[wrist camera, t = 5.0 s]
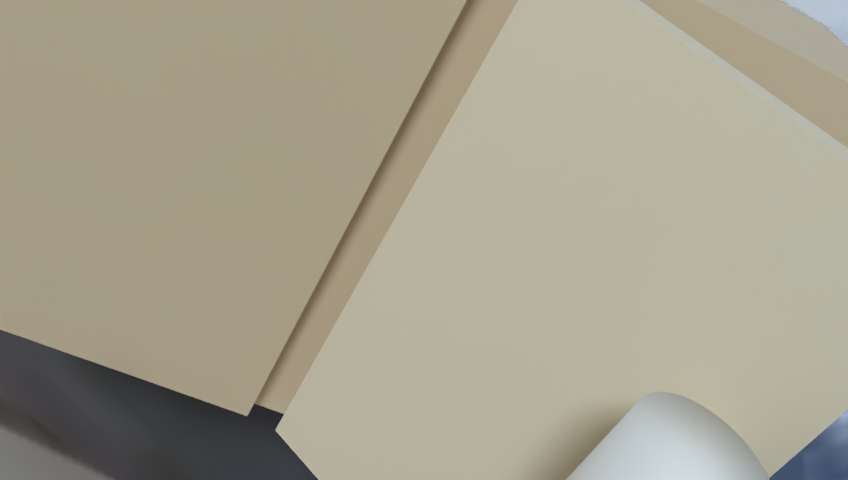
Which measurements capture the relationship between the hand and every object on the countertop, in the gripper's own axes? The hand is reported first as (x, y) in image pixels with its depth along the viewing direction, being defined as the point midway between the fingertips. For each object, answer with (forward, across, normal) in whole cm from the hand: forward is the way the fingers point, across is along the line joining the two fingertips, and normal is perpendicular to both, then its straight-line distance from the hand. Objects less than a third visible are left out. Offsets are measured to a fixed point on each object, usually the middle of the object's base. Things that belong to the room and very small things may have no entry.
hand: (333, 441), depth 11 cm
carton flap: (+3, -3, +1) cm, 5 cm away
